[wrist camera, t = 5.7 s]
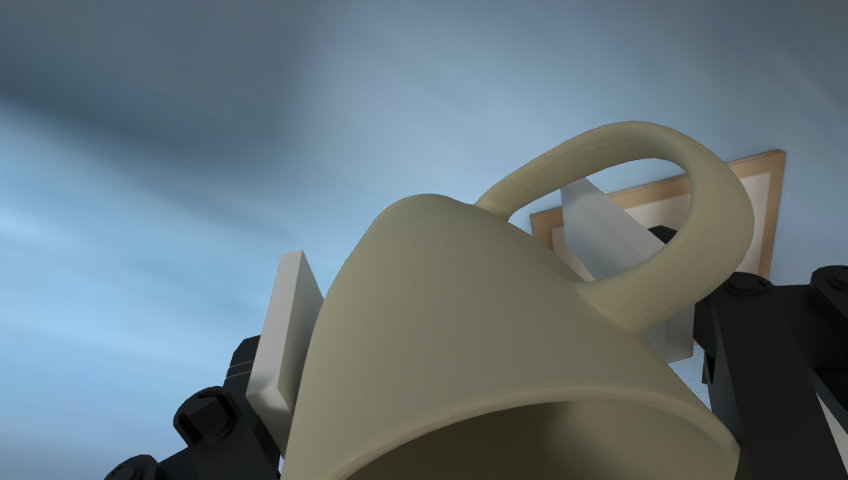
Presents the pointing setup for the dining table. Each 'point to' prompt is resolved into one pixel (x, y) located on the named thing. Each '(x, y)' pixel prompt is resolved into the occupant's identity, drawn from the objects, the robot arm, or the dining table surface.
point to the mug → (517, 337)
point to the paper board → (685, 211)
